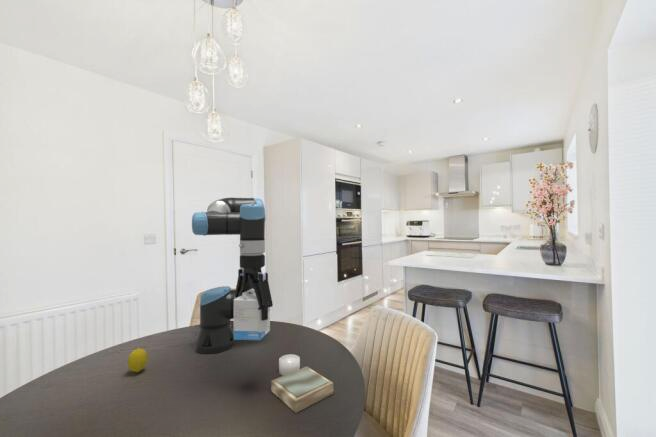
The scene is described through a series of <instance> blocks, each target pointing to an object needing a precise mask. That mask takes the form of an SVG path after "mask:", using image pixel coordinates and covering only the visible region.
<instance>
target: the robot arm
mask: <svg viewBox="0 0 656 437" xmlns="http://www.w3.org/2000/svg"><path fill="white" fill-rule="evenodd" d="M265 229H266V209H265V204H264V201H263V200H262V199H261V198H258V197H257V198H256V197H223V198H220V199H219V198H218V199H217V200H214V201H213V202H211V203H210V204H209V205H208V207H207V209H206V211H201V212H199V211H198V212H194V213H193V214H192V217H191V230H192V233H193V234H194V235H195V236H203V237H204V236H219V235H220V236H222V235H223V236H225V235H226V236H227V235H228V236H229V235H230V236H231V235H236V236H239V244H238V247H239V269H238V270H237V272H238V273H237V274H238V276H237V282H236V286H235V289H232V288H231V286H228V285H226V286H225V285H224V286H217V287H214V288H213V287H212V288H209V289H207V290H204V291H203V292H202V293H201V295H200V298H199V299H200V300H199V301H200V302H199V309H200V310H199V311H200V313H199V331H198V334H197V337H196V340H195V344H194V350H195V352H196V353H199V354H202V355H203V354H204V355H209V354H210V355H211V354H212V355H213V354H219V353H222V352H225V351H227V350H230V349H231V348H233V347H234V346H235V343H236V340H234V330H233V328H232V326H231V325H232V324H231V323H232V322H231V320H234V299H235V298H238V297H240V296H242V293H243V292H246V291H248V290H250V289H254V291H255V294H256V297H257V300H258V304H259V308H258V332H263V331H266V330H268V308H269V307H270V308H271V307H272V308H273V306H274V304H273V299H272V294H271V290H270V284H269V274H268V272H263V271H262V268H264V267H265V265H266V256H265V254H264V253H265V252H266V238H265V235H266V233H265V231H266V230H265ZM248 294H252V293H251V292H249V293H248ZM268 302H269V303H268ZM262 303H263V304H262Z"/></svg>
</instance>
